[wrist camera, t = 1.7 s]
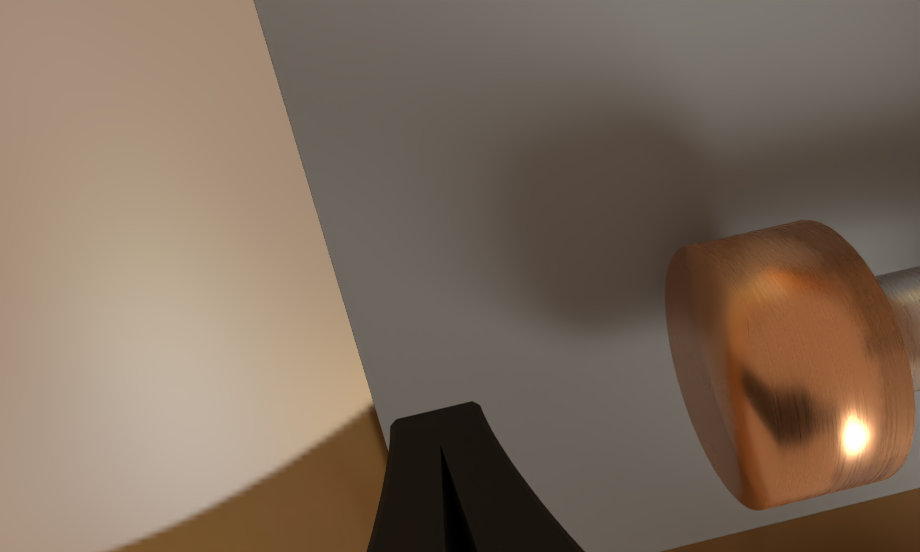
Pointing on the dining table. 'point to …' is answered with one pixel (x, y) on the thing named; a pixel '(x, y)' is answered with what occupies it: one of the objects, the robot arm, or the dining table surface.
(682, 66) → the mat
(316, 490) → the dining table surface
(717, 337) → the pin
